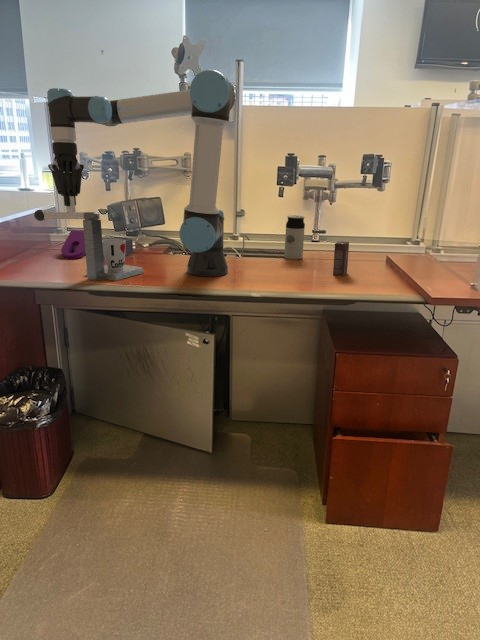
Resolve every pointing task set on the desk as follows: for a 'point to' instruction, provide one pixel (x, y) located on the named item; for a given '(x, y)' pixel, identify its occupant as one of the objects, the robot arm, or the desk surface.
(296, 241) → the travel mug
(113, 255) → the cup
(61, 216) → the lever
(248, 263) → the desk surface
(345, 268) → the box
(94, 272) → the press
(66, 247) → the mounting bracket
